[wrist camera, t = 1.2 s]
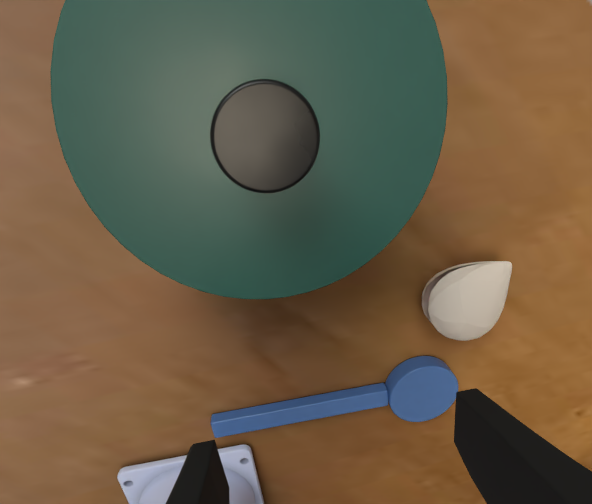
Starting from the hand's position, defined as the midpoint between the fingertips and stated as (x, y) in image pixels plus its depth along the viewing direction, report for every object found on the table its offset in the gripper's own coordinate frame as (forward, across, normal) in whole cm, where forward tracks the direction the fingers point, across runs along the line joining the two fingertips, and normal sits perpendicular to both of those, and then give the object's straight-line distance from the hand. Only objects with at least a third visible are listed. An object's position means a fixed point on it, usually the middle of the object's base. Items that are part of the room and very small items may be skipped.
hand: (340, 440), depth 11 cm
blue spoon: (+9, 0, +8) cm, 12 cm away
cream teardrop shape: (+9, -9, +1) cm, 13 cm away
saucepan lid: (+3, +1, -9) cm, 9 cm away
